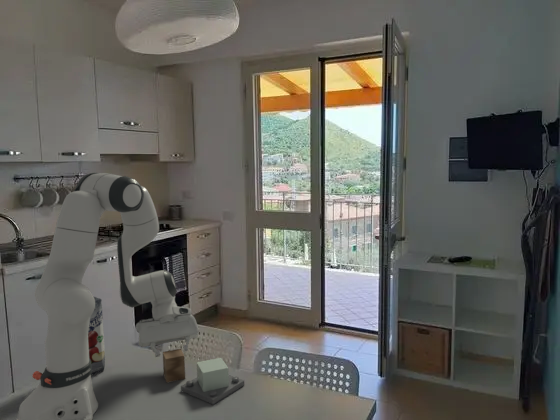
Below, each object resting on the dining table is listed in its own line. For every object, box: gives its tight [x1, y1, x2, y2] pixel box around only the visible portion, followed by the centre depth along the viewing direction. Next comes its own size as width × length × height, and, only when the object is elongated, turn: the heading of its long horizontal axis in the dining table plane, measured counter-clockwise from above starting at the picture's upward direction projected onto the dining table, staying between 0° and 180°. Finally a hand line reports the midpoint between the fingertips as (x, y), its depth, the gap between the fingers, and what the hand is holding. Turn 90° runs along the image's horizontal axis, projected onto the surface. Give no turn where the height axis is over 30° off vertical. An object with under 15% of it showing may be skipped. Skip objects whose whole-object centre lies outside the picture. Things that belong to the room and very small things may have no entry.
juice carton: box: [88, 295, 106, 376], centre depth 149 cm, size 9×10×27 cm
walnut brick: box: [162, 348, 186, 383], centre depth 146 cm, size 6×6×8 cm
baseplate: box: [180, 357, 245, 405], centre depth 139 cm, size 14×14×8 cm
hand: (172, 353), depth 148 cm, fingers open, 8 cm apart
